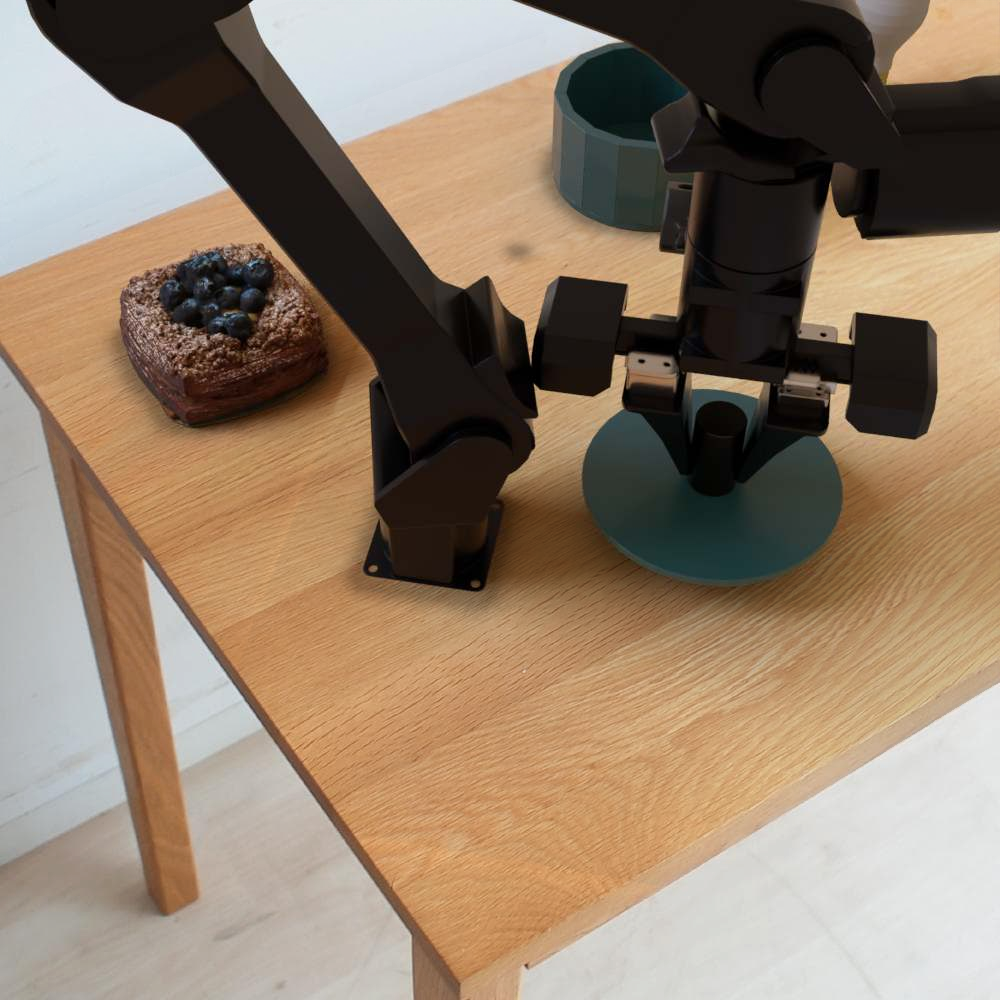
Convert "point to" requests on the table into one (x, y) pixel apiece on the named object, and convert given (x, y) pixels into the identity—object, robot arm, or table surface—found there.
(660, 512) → the lid
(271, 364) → the pastry
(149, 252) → the table surface
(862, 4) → the light bulb
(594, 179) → the pot
